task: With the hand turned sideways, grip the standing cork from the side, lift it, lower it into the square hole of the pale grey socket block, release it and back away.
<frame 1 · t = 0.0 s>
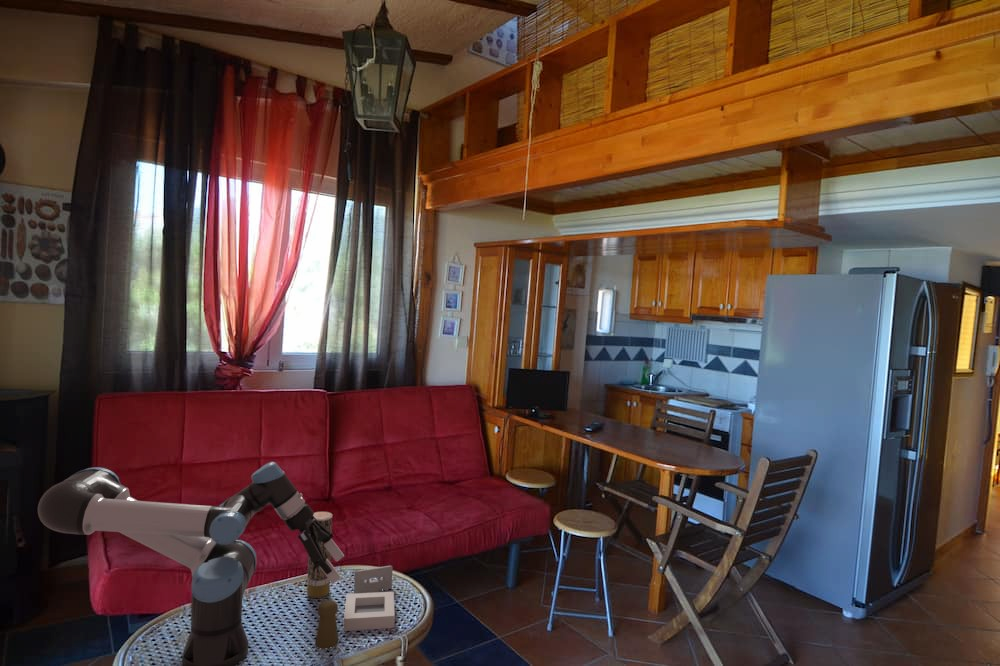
hand: (338, 569, 166), 15 cm above the table, tool tilted 35°, fingers open, 13 cm apart
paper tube: (318, 594, 181), on the table
cork: (326, 643, 156), on the table
cassette: (373, 592, 184), on the table
socket block: (369, 616, 170), on the table
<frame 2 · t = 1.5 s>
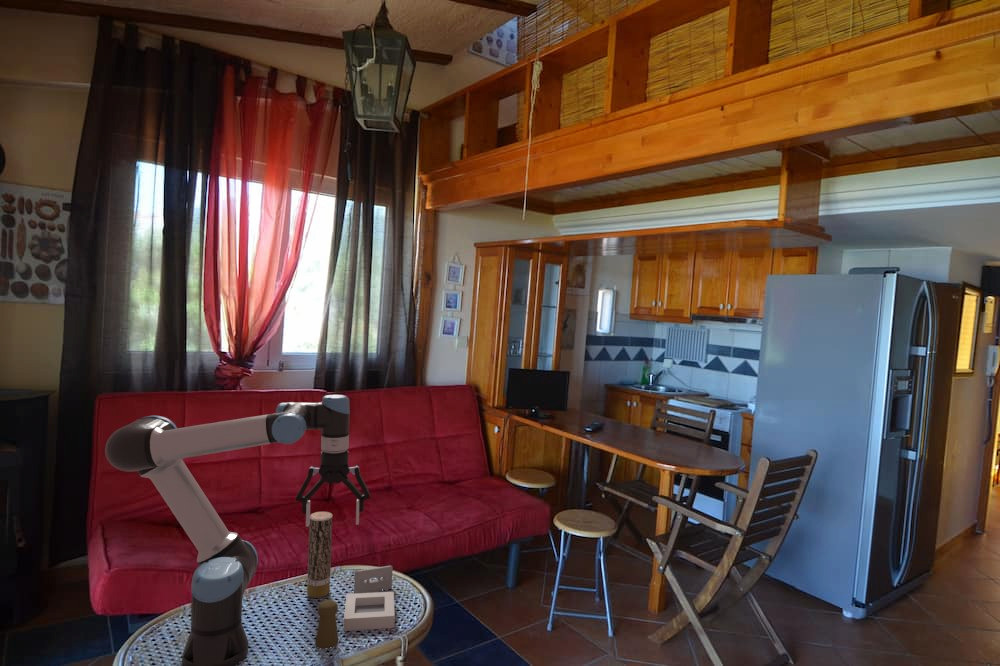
hand: (332, 523, 164), 29 cm above the table, tool pointing down, fingers open, 13 cm apart
nothing on the table moved.
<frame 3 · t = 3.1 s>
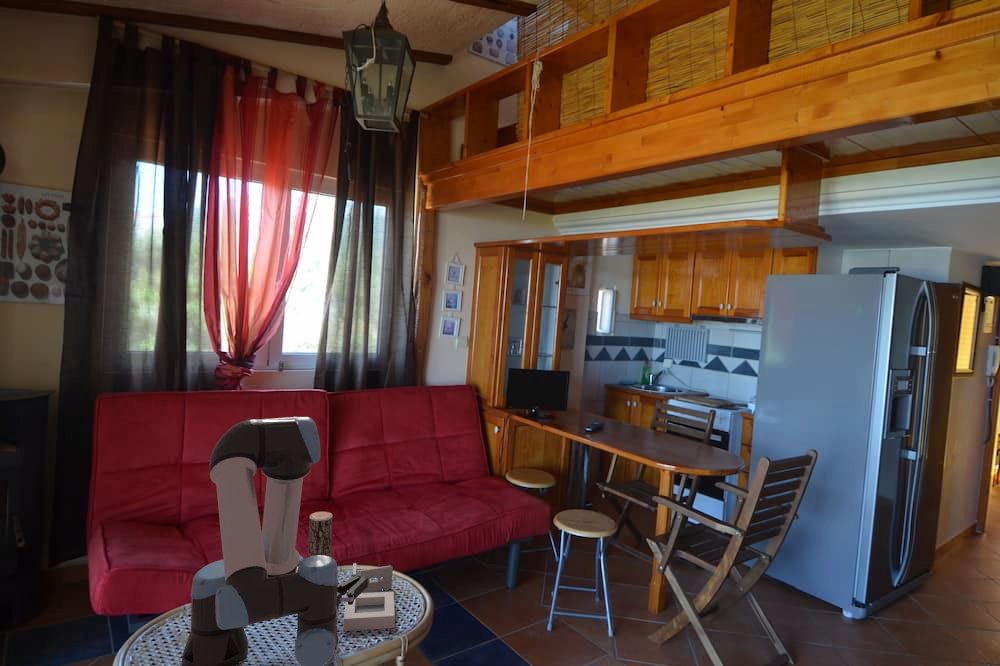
hand: (326, 569, 146), 24 cm above the table, tool horizontal, fingers open, 13 cm apart
nothing on the table moved.
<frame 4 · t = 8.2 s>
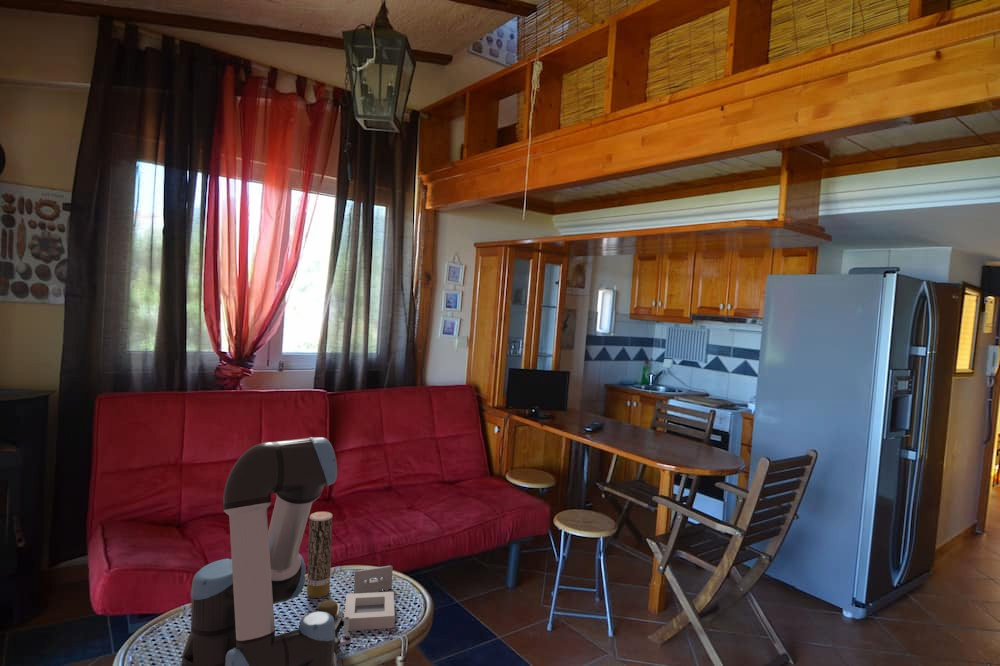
hand: (329, 608, 161), 7 cm above the table, tool horizontal, fingers closed on cork, 4 cm apart
cork: (326, 643, 156), on the table, touching gripper
everything else where it was.
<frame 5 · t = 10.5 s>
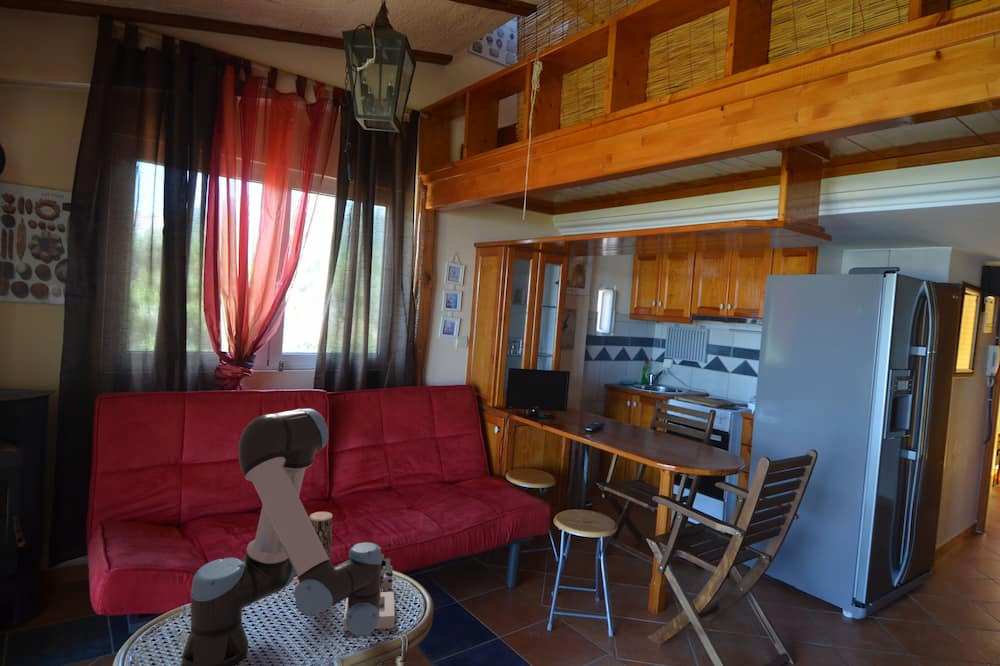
hand: (370, 551, 172), 18 cm above the table, tool horizontal, fingers closed on cork, 4 cm apart
cork: (369, 582, 167), point 11 cm above the table, touching gripper
everything else where it was.
when the fingers open (9 cm above the table, at t = 12.7 s): cork drops 1 cm, resting on socket block.
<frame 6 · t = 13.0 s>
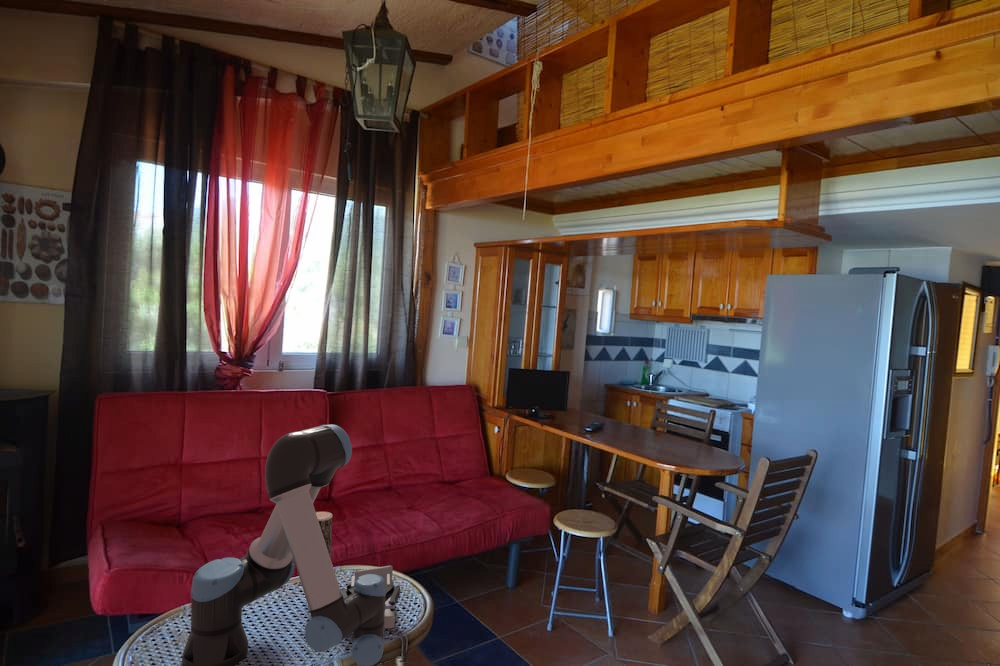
hand: (370, 579, 174), 9 cm above the table, tool horizontal, fingers open, 9 cm apart
cork: (368, 613, 169), point 1 cm above the table, touching socket block
everything else where it was.
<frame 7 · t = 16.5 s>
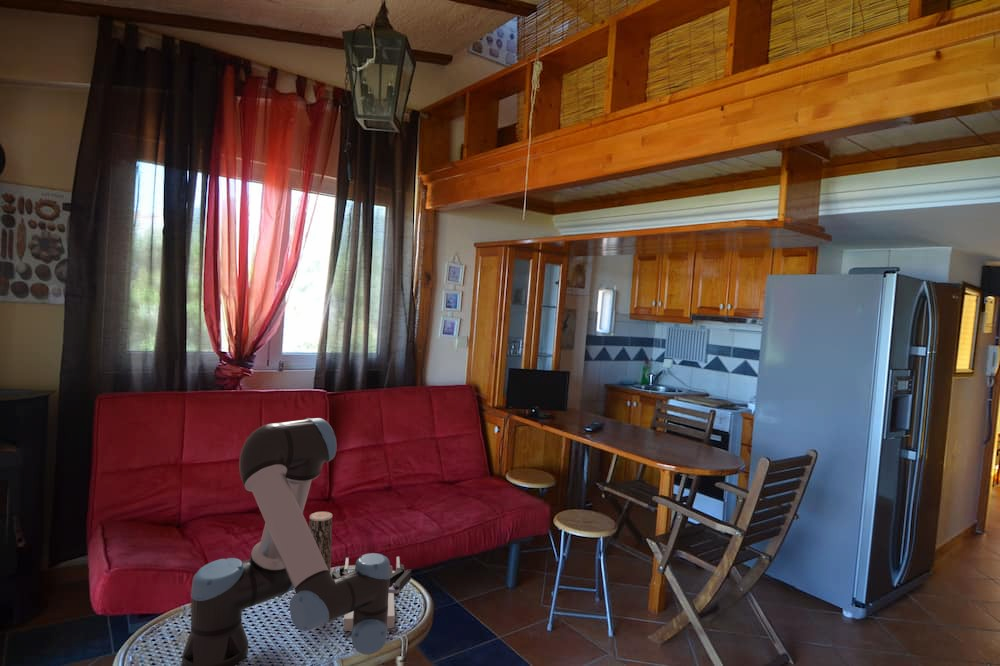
hand: (372, 561, 159), 21 cm above the table, tool horizontal, fingers open, 13 cm apart
nothing on the table moved.
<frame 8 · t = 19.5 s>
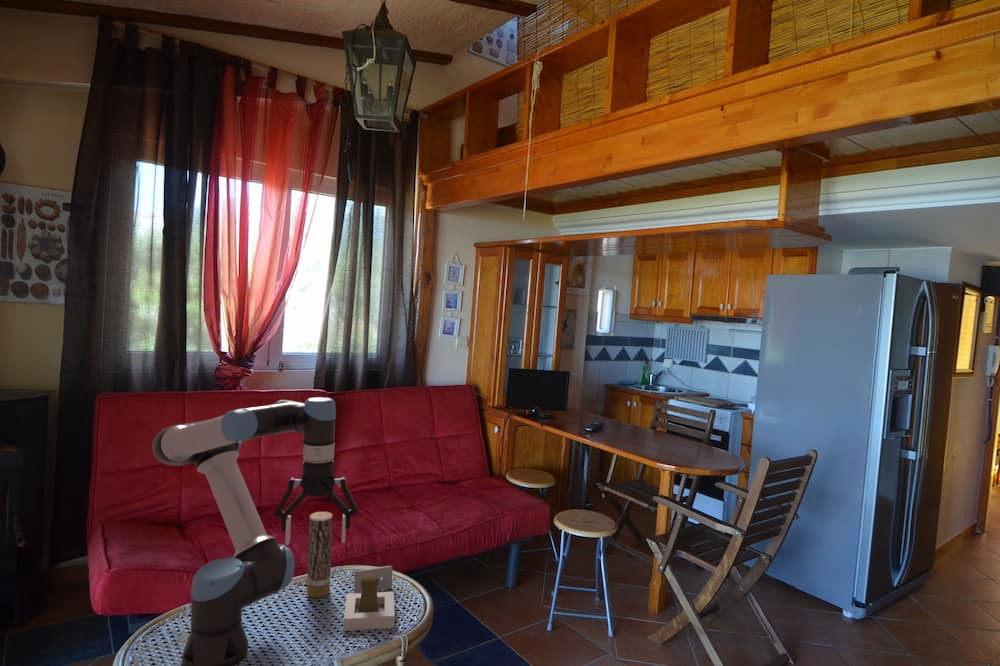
hand: (315, 541, 147), 31 cm above the table, tool pointing down, fingers open, 13 cm apart
nothing on the table moved.
at the end: cork 0.4 cm off-centre on the socket block, point 0.9 cm above the socket block's base; cork tilted 0°; the gripper is holding nothing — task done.
